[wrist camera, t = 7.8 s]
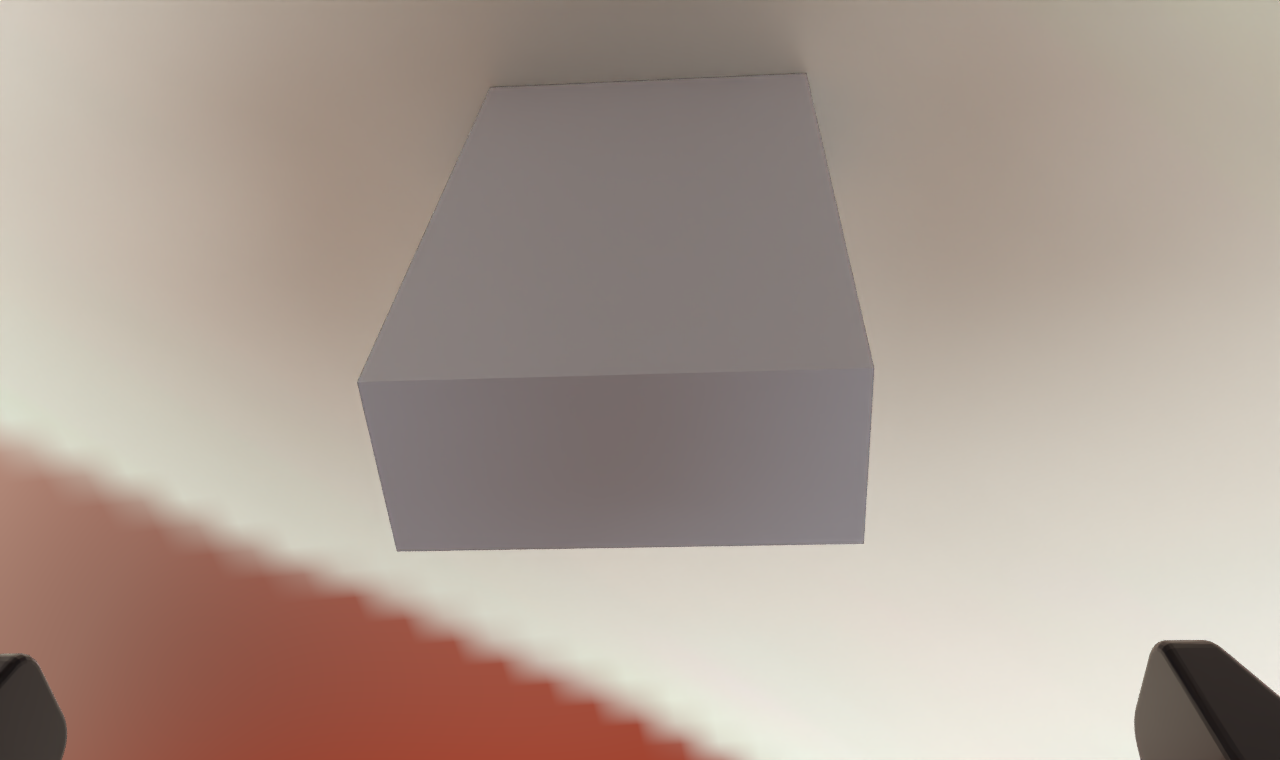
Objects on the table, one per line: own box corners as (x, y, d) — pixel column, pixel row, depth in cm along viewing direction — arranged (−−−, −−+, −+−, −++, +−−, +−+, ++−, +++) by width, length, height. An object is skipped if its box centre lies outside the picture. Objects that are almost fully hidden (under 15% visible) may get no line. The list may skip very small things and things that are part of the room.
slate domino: (805, 73, 18) (874, 368, 11) (803, 203, 19) (864, 543, 12) (490, 87, 18) (357, 382, 11) (507, 213, 20) (397, 551, 12)
